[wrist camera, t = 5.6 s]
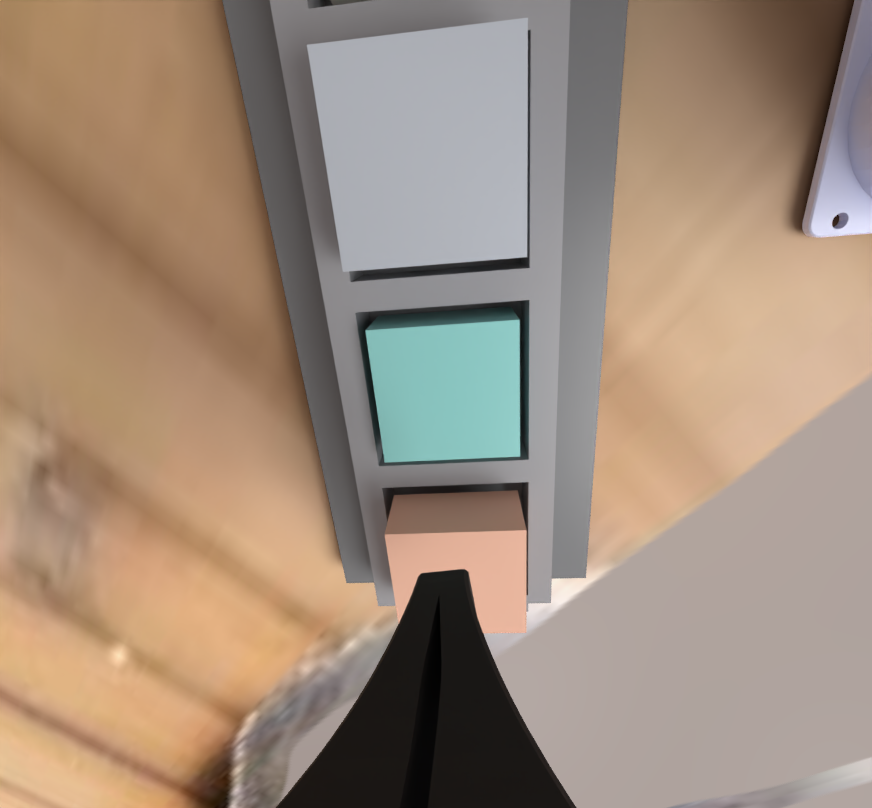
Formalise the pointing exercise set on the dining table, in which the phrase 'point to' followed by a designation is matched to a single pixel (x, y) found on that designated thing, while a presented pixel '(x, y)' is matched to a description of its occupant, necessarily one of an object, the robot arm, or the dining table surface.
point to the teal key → (447, 384)
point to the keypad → (449, 268)
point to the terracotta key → (463, 550)
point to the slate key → (426, 144)
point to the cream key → (346, 1)
